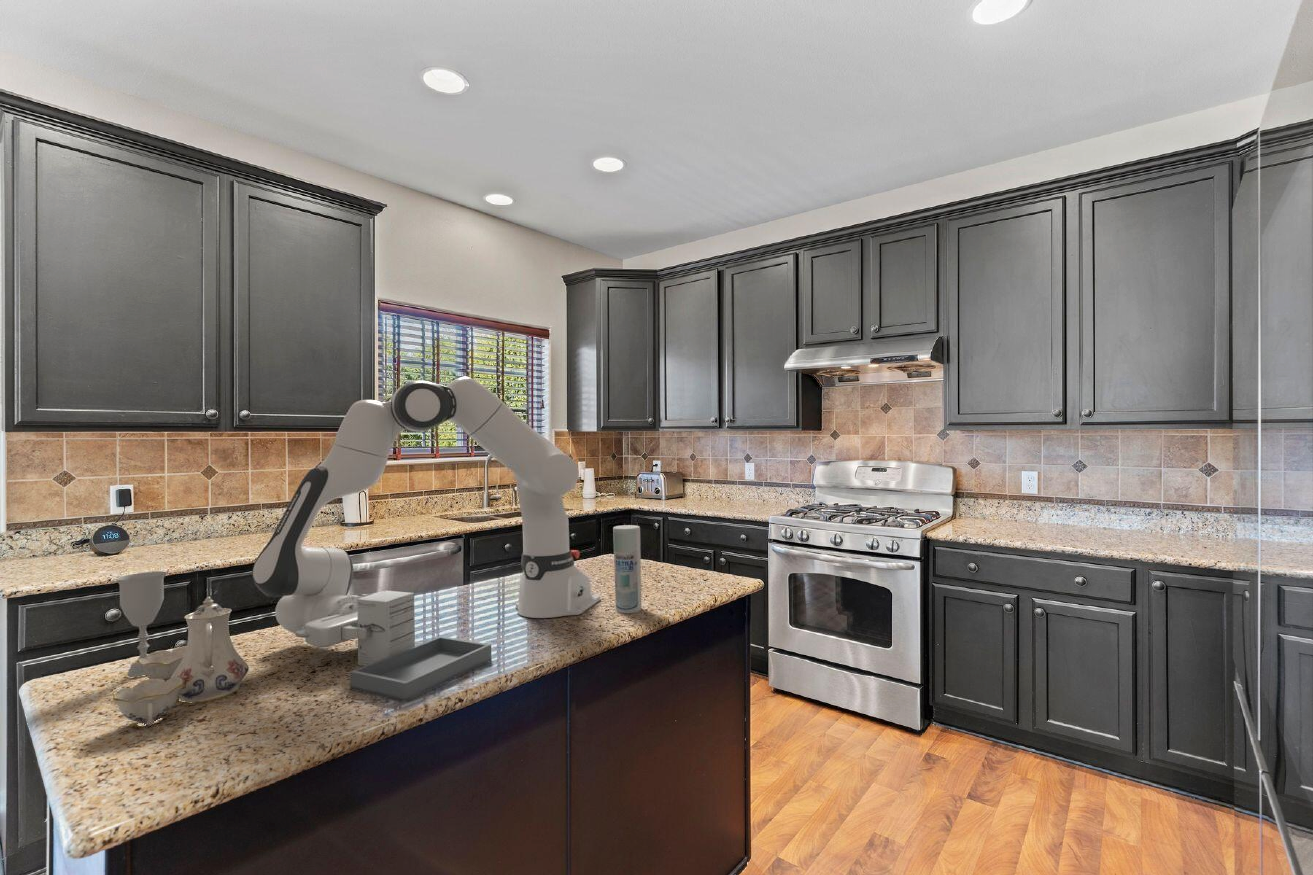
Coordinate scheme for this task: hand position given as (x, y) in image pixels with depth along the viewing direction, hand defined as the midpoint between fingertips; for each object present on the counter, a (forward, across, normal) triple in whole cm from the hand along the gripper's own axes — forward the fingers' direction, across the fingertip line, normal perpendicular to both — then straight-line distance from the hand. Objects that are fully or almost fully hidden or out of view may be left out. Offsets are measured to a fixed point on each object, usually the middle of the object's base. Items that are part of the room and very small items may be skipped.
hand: (389, 625), depth 116 cm
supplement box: (-1, 0, +7) cm, 7 cm away
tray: (+11, -2, +7) cm, 13 cm away
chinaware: (-19, -25, +7) cm, 32 cm away
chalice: (-39, -22, +7) cm, 45 cm away
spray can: (+25, +48, +7) cm, 55 cm away
